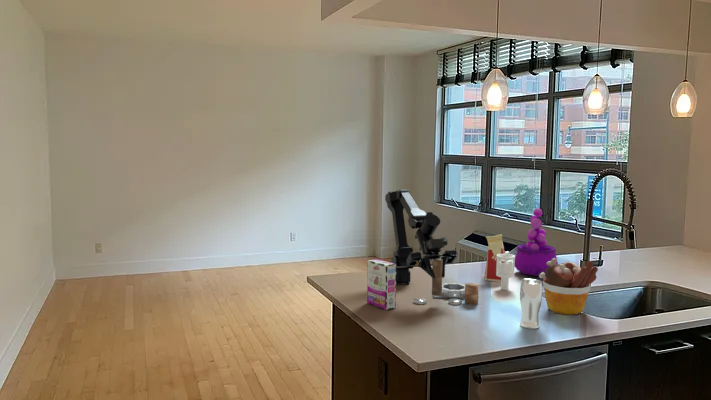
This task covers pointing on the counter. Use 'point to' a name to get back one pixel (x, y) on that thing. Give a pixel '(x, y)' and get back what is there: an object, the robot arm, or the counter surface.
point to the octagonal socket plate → (452, 291)
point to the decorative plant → (534, 249)
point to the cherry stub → (471, 293)
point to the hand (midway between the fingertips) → (438, 277)
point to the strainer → (505, 269)
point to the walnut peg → (437, 277)
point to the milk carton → (493, 257)
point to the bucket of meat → (567, 286)
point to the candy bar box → (381, 284)
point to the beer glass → (530, 302)
